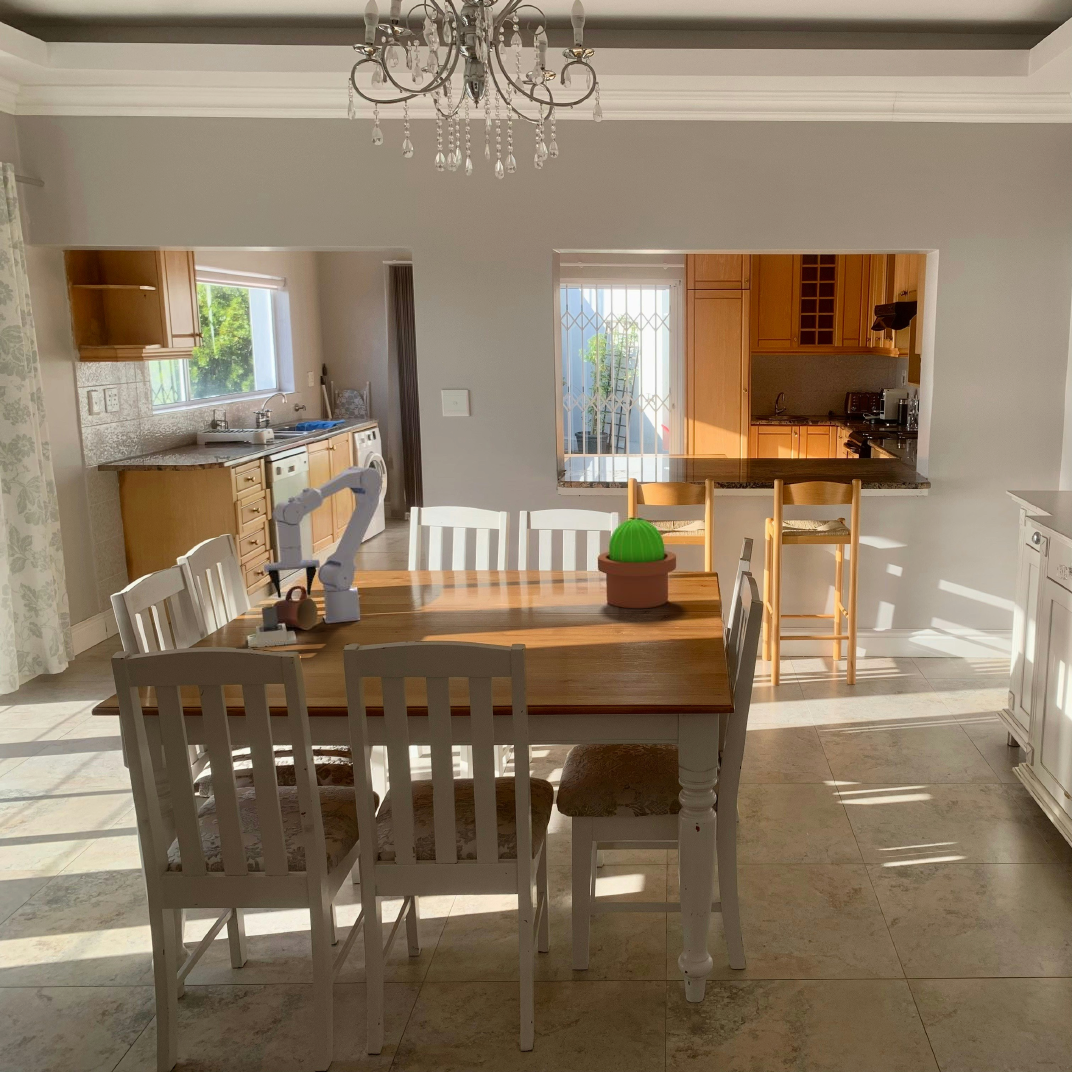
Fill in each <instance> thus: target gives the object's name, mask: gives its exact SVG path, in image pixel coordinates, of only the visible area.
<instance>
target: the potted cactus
mask: <svg viewBox="0 0 1072 1072" xmlns="http://www.w3.org/2000/svg"><path fill="white" fill-rule="evenodd" d="M627 519H628V520H627ZM627 519H625V520H624V522H621V523H620V524H619V525H618V526H617V527H616V528H615V529H614V530H613V532H612V534H611V535H610V539H609V542H608V545H607V547H608V551H606V552H602V553H601V554H599V555H598V556H597V570H598V571H599V572H600V573H603V574H605V576H606V583H605V584H606V601H607V603H608V604H610V605H611V606H615V607H617V608H623V609H648V608H649V609H650V608H651V609H652V608H656V607H659V606H663V605H664V604H666V603H667V602H668V600H669V573H671V572H674V571H675V570H676V569H677V554H676V553H674V552H671V551H667V550H666V549H665V544H664V540H663V539H664V536H662V535H661V531H660V530H659V529H657V527H656V526H655V525H653V524H652V523H651V521H649V522H648V521H647V520H645V518H641V517H637V518H635V517H633V516H631V517H629V518H627Z"/></svg>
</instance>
